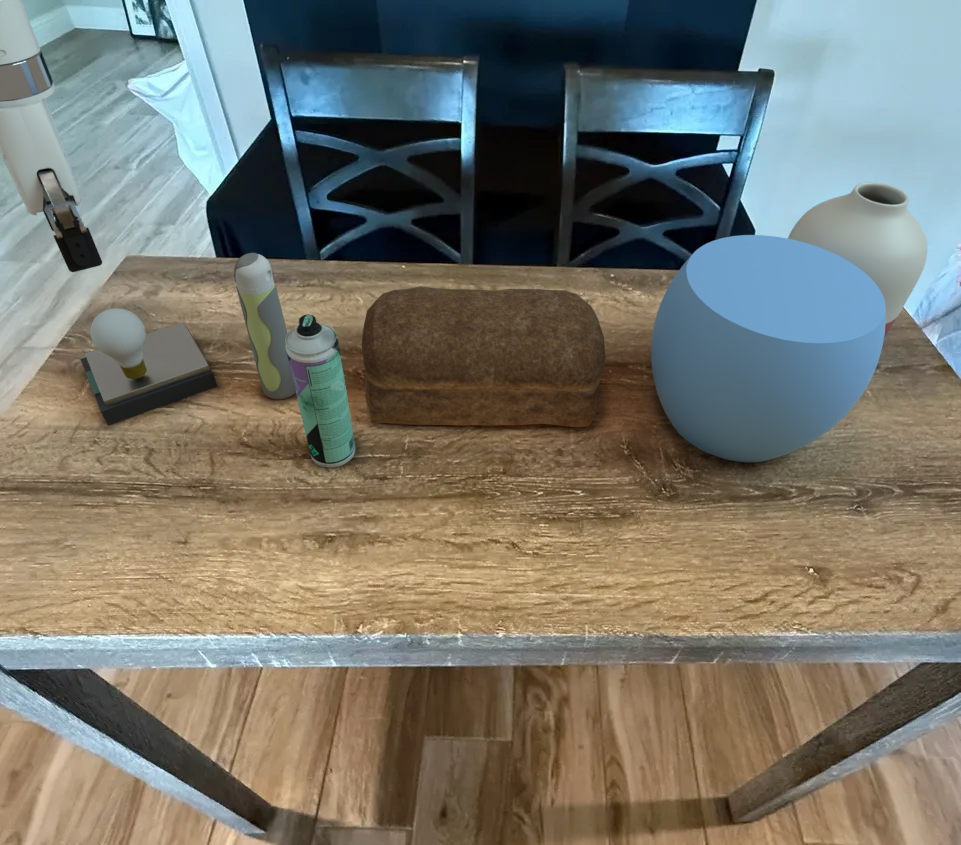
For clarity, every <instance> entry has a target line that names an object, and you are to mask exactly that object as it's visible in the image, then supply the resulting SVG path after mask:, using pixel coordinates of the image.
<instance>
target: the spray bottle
mask: <svg viewBox="0 0 961 845" xmlns="http://www.w3.org/2000/svg"><path fill="white" fill-rule="evenodd" d="M233 278H234V283H235V284H236V287H235V288H236V293H237V296H238V299H239V303H240V307H241V311H242V315H243V320H244V324H245V327H246V331H247V335H248V339H249V343H250V346H251V351H252V354H253V358H254V364H255V367H256V370H257V375H258V378H259V382H260V386H261V390H262V392H263V394H264V395H265V396H266V397H268V398H270V399H273V400H283V399H288V398H290V397H292V396H293V395H296V391H295V386H294V382H293V378H292V373H291V369H290V365H289V360H288V356H287V352H286V343H285V338H286V336H287V334H288V330H287V325H286V322H285V317H284V313H283V310H282V305H281V301H280V297H279V293H278V288H277V286H276V285H275V280H274V274H273V271H272V267H271V264H270V261H269V260H268V259H267V257H265V256H263V255H262V254H260V253H256V252H249V253H245V254H243V255H242V256H240V257H239V258H238V259H237V260H236V262H235V265H234V268H233Z"/></svg>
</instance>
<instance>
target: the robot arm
mask: <svg viewBox="0 0 961 845" xmlns="http://www.w3.org/2000/svg"><path fill="white" fill-rule="evenodd" d="M56 89H57V88H56V85H55V82H54V79H53V78H52V75H51V73H50V70H49V67H48V64H47V61H46V59H45V57H44V54H43V51H42V50H41V46H40V44H39V41H38V39H37V36H36V34H35V31H34V29H33V26H32V23H31V21H30V18H29V16H28V13H27V10H26V8H25V5H24V2H23V0H0V156H1V157H2V160H3V162H4V164H5V166H6V168H7V171H8V172H9V174H10V177H11V178H12V181H13V183H14V185H15V187H16V189H17V191H18V194H19V196H20V198H21V201H22V202H23V204H24V206H25V209H26V211H27V212H28V214H30V215H32V216H37V215H38V213H43V214H44V217H45V218H46V221H47V222H48V225H49V227H50V230H51V231H52V232H54V235H53V238H54V241H55V243H56V245H57V247H58V249H59V252H60V254H61V256H62V258H63V260H64V262H65V265H66V267H67V269H68V271H69V272H70V273H76V272H80V271H84V270H88V269H92V268H96V267H101V265H102V264H103V260H102V258H101V255H100V253H99V250H98V247H97V245H96V243H95V240H94V237H93V235H92V234H91V231H90V229H89V227H86V225H85V222H84V220H83V218H82V216H81V214H80V212H79V209H78V206H79V205H80V204H81V203H82V198H81V195H80V192H79V187H78V185H77V181H76V179H75V175H74V172H73V170H72V167H71V163H70V161H69V160H70V159H69V157H68V155H67V152H66V148H65V147H64V143H63V141H62V139H61V136H60V134H59V131H58V128H57V126H56V123H55V120H54V118H53V114H52V113H51V110H50V108H49V105H48V103H47V100H46V99H47V98H48V97H50V96H52V95H53V94H54V93H55V91H56Z"/></svg>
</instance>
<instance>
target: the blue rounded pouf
mask: <svg viewBox="0 0 961 845" xmlns="http://www.w3.org/2000/svg"><path fill="white" fill-rule="evenodd" d="M885 323H886V307H885V300H884V297H883V295H882V293H881V291H880V289H879V288H878V286H877V285H876V283H875V282H874V281H873V280H872V279H871V278H870V277H869V276H868V275H867V274H866V273H865V272H863V271H862V270H861V269H860V268H858V267H857V266H855V265H854V264H852V263H851V262H849V261H847V260H846V259H844V258H842V257H840V256H838V255H836V254H834V253H832V252H830V251H827V250H825V249H822V248H820V247H817V246H814V245H811V244H808V243H804V242H800V241H796V240H792V239H788V237H787V238H786V237H780V236H773V235H763V234H760V235H759V234H741V235H732V236H726V237H722V238H717V239H715V240H714V239H713V240H712V241H710V242H707V243H705V244H703V245H702V246H700V247H698V248H697V249H696V250H695V251H694V252H693V253H692V254H691V255H690V256H689V257H688V259H687V260H686V261H685V262H684V263H683V265H681V267H680V268H679V270H678V271H677V272H676V274H675V275H674V277H673V279H672V281H671V282H670V283H669V285H668V287H667V289H666V291H665V293H664V294H663V297H662V299H661V302H660V304H659V306H658V309H657V313H656V315H655V320H654V323H653V328H652V335H651V344H650V363H651V370H652V377H653V378H652V379H653V384H654V387H655V390H656V394H657V396H658V399H659V401H660V404H661V406H662V408H663V411H664V413H665V415H666V417H667V419H668V420H669V422H670V423H671V425H672V427H673V428H674V429H675V431H676V432H677V433H678V434H679V435H680V436H681V437H682V438H683V439H684V440H685V441H687V442H688V443H689V444H691V445H692V446H694V447H695V448H697V449H699V450H701V451H702V452H705V453H707V454H709V455H712V456H714V457H717V458H720V459H723V460H726V461H727V460H728V461H732V462H738V463H760V462H767V461H770V460H774V459H779V458H781V457H784V456H787V455H788V454H792V453H793V452H795V451H798V450H800V449H801V448H804V447H806V446H808V445H809V444H811V443H813V442H814V441H816V440H818V439H819V438H821V437H822V436H824V435H825V434H827V432H829V431H830V430H832V429H833V428H834V427H835V426H836V425H837V424H838V423H840V421H842V420H843V419H844V418H845V417H846V416H847V415H848V413H850V411H851V410H852V409H853V408H854V406H855V405H856V404H857V403H858V402H859V400H860V398H862V396H863V394H864V392H865V391H866V389H867V388H868V386H869V384H870V382H871V380H872V379H873V376H874V374H875V372H876V369H877V367H878V364H879V361H880V358H881V354H882V350H883V345H884V341H885V339H884V334H885Z"/></svg>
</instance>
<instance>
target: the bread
mask: <svg viewBox="0 0 961 845" xmlns="http://www.w3.org/2000/svg"><path fill="white" fill-rule="evenodd" d="M361 355H362V364H363V367H364V371H365V376H366V377H365V380H366V381H365V403H366V407H367V411H368V413H369V415H370V416H371V417H372V418H371V419H373V420H374V422H375V423H379V424H396V425H417V426H419V425H421V426H422V425H423V426H426V425H428V426H429V425H432V426H436V425H437V426H439V425H440V426H487V427H488V426H489V427H490V426H524V425H525V426H527V425H554V426H563V427H569V428H586V427H590V426H591V424H592V422H593V421H594V419H595V416H596V413H597V411H598V408H599V406H600V401H601V379H602V377H603V373H604V369H605V365H606V349H605V337H604V333H603V330H602V327H601V324H600V321H599V318H598V316H597V314H596V312H595V309H594V308H593V306H591V305H590V304H589V302H587V301H586V300H584V298H582V297H581V296H580V295H579V294H577V293H575V292H572V291H569V290H565V289H564V290H563V289H545V288H544V289H542V288H506V289H499V290H490V289H471V288H441V287H440V288H439V287H430V286H417V287H416V286H415V287H410V288H402V289H401V288H400V289H399V288H398V289H393V290H390V291H387V292H383V293H381V294H380V296H379V297H377V298H376V300H374V301H373V303H372V304H371V305H370V307H368V309H367V310H366V313H365V318H364V324H363V329H362V335H361Z"/></svg>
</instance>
